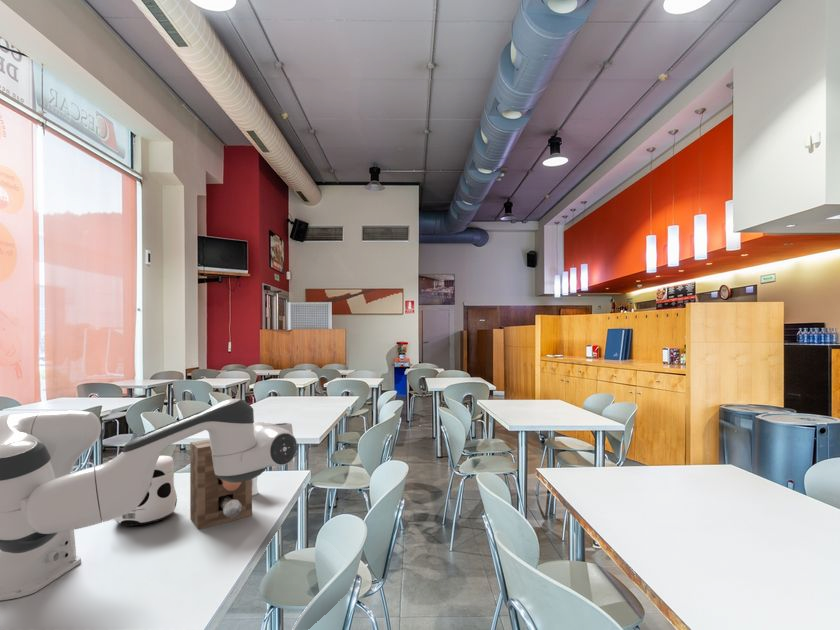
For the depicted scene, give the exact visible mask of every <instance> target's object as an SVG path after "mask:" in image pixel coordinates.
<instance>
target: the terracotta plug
mask: <svg viewBox="0 0 840 630" xmlns="http://www.w3.org/2000/svg"><path fill="white" fill-rule="evenodd" d="M219 480H221V481H222V482H223V487H224V488H225V489H226V490H228V491H233V490H236V489H237V488H238V487H239V486H240V484H241V482H236V483H232V482H227V481H224V480H222V479H220V478H219Z"/></svg>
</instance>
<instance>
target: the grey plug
mask: <svg viewBox="0 0 840 630" xmlns="http://www.w3.org/2000/svg"><path fill="white" fill-rule="evenodd" d="M218 503H219V506H220V507H221V508H222V509H223V514H224V515H225V516H226V517H228V518H234V517H236V516H237V515H238V514H239V513H240V511H241V508H242V505H241V503H240V502H239V501H238V500H237V499H231V498H230V497H229V496H228V495H225V496H222V497H221V498H220V499H219V502H218Z"/></svg>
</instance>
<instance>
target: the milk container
mask: <svg viewBox="0 0 840 630" xmlns="http://www.w3.org/2000/svg"><path fill="white" fill-rule="evenodd" d="M174 468H175V463H174V457H173V456H170V455H160V456H159V458H158V460H157V463H156V466H155V470H154V474H153V477H152V481H151V485H150V488H149V490H148V492H147V494H146V496H145V498H144V499H143V501H142V502H141V503H140V504H139V505H138V506H137V507H136V508H135V509H134V510H133V511H131V512H129V513H127V514H125V515H123V516H120V517H117V518H115V519H114V520H115V521H116V523H117V524H120V525H122V526H126V527H127V526H128V527H129V526H130V527H131V526H132V527H133V526H143V525H149V524H151V523H152V524H153V523H156V522H159V521H161V520H164V519H166V518H167V517H169V516H171V515H172V514H173V513H174V511H175V510H176V508H177V502H178V495H177V492H176V488H175V484H174V483H175V481H174V480H175V478H174V476H175V475H174V474H175V472H174V470H175V469H174Z"/></svg>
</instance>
